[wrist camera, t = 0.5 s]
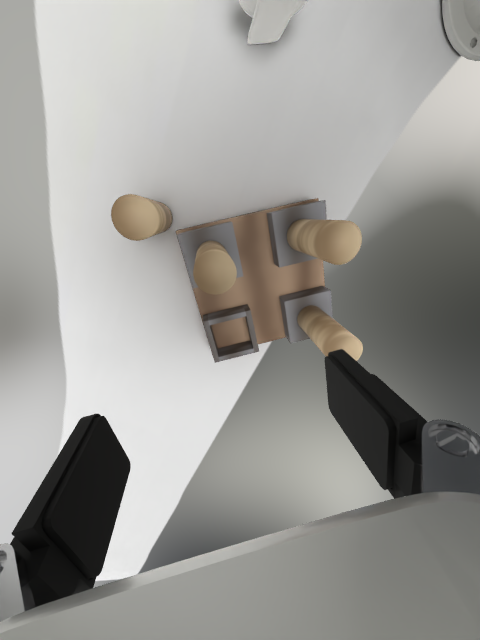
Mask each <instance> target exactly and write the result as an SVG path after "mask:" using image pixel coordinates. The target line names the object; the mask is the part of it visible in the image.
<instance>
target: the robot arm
mask: <svg viewBox="0 0 480 640" xmlns="http://www.w3.org/2000/svg"><path fill="white" fill-rule="evenodd" d="M442 15H443V21H444V28H445V31H446V34H447V37H448V39H449V41H450V43H451V44H452V46H453V48H454V49H455V50H456V51H457V52H458V53H459V54H460V55H461V56H463V57H465V58H467V59H470V60H475V61H480V0H442ZM325 369H326V380H327V392H328V404H329V409H330V411H331V413H332V415H333V416H334V418H335V419H336V421H337V422H338V424H339V425H340V427H341V428H342V429H343V431H344V433H345V434H346V436H347V437H348V439H349V440H350V442H351V443H352V444H353V446H354V447H355V449H356V450H357V452H358V453H359V455H360V456H361V458H362V459H363V461H364V462H365V464H366V465H367V467H368V468H369V470H370V471H371V473H372V474H373V476H374V477H375V479H376V480H377V482H378V483H379V484H380V486H381V487H382V488H383V489H384V490H386V489H388V490H389V492H390V493H391V494H392V496H393V497H394V499H391V500H387V501H384V502H380V503H377V504H373V505H370V506H365V507H362V508H358V509H355V510H351V511H347V512H344V513H340V514H337V515H334V516H330V517H327V518H323V519H320V520H317V521H313V522H310V523H307V524H303V525H300V526H297V527H293V528H290V529H286V530H283V531H279V532H276V533H273V534H269V535H266V536H262V537H259V538H256V539H253V540H249V541H246V542H243V543H239V544H236V545H232V546H229V547H226V548H223V549H219V550H216V551H213V552H209V553H206V554H203V555H199V556H196V557H193V558H190V559H186V560H183V561H180V562H176V563H173V564H170V565H167V566H163V567H160V568H157V569H154V570H150V571H147V572H144V573H141V574H137V575H134V576H131V577H128V578H124V579H121V580H118V581H115V582H111V583H108V584H105V585H102V586H98V587H95V588H93V586H94V583H95V579H96V576H98V575H99V574H100V573H101V571H102V568H103V564H104V561H105V557H106V554H107V550H108V547H109V543H110V540H111V536H112V532H113V529H114V525H115V522H116V518H117V515H118V511H119V508H120V504H121V500H122V497H123V493H124V490H125V486H126V483H127V479H128V475H129V472H130V461H129V459H128V457H127V455H126V453H125V452H124V450H123V448H122V446H121V444H120V443H119V441H118V439H117V437H116V436H115V434H114V432H113V430H112V428H111V427H110V425H109V423H108V421H107V420H106V418H105V417H104V416H100V415H99V414H94V415H90V416H86V417H83V418H81V419H80V420H79V422H78V424H77V425H76V427H75V429H74V430H73V432H72V434H71V435H70V437H69V439H68V440H67V442H66V444H65V445H64V447H63V449H62V450H61V452H60V454H59V455H58V457H57V459H56V460H55V462H54V464H53V466H52V467H51V469H50V470H49V472H48V474H47V475H46V477H45V479H44V480H43V482H42V484H41V485H40V487H39V489H38V490H37V492H36V494H35V495H34V497H33V499H32V500H31V502H30V504H29V505H28V507H27V509H26V510H25V512H24V514H23V515H22V517H21V519H20V520H19V522H18V524H17V525H16V527H15V529H14V530H13V532H12V535H13V536H15V537H14V538H13V540H12V542H11V544H6V543H5V544H0V640H480V436H479V435H478V434H477V433H475V432H474V431H472V430H471V429H469V428H467V427H466V426H464V425H461V424H459V423H456V422H453V421H447V420H432V421H430V422H427V421H426V420H425V419H424V418H423V417H421V415H419V414H418V413H417V412H416V411H415V410H414V409H413V408H412V407H410V406H409V405H408V404H407V403H406V402H405V401H404V400H403V399H401V398H400V397H399V396H398V395H397V394H396V393H395V392H394V391H392V390H391V389H390V388H389V387H388V386H387V385H386V384H385V383H384V382H383V381H381V380H380V379H379V378H378V377H377V376H375V375H373V374H370V373H369V372H368V371H366V370H365V369H364V368H363V367H362V366H361V365H360V364H359V363H358V362H357V361H356V360H354V359H353V358H352V357H351V356H350V355H349V354H348V353H347V352H346V351H345V350H343V349H339V350H335V351H332V352H329V353H328V356H326V357H325ZM404 496H405V497H404Z"/></svg>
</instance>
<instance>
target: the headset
mask: <svg viewBox="0 0 480 640" xmlns="http://www.w3.org/2000/svg"><path fill="white" fill-rule="evenodd" d="M307 1H308V0H239V3H240V5H241V7H242V9H243V10H244V11H245V13H246V14H248V15H249V16H250V17H252V18H253V19H252V22H251V26H250V30H249V34H248V44H264V43H271V42H276V41H278V40H279V39H280V37H281V36H282V34H283V32H284V30H285V28H286V27H287V25H288V23H289V21H290V19H291V17H292V16H293V15H295V14H296V13H298V12H299V11H300V10H301V9H302V8H303V7H304V5H305V4H306V2H307Z"/></svg>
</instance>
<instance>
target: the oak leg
mask: <svg viewBox="0 0 480 640" xmlns="http://www.w3.org/2000/svg"><path fill="white" fill-rule="evenodd" d="M111 217H112V221H113V224H114V226H115V228H116V229H117V231H118V232H119V233H120V234H121V235H123V236H124V237H126V238H128V239H130V240H136V241H139V240H144V239H146V238H149V237H151V236H154V235H156V234H159V233H161V232H164V231H166V230H168V229H169V227H170V226H171V224H172V214H171V211H170V209H169V208H168V207H167V206H166V205H165V204H163V203H160V202H157V201H154V200H150V199H147V198H144V197H141V196H137V195H132V194H128V195H124V196H121V197H120V198H118V199H117V200H116V201H115V203H114V204H113V207H112V211H111Z"/></svg>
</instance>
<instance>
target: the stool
mask: <svg viewBox="0 0 480 640" xmlns="http://www.w3.org/2000/svg"><path fill="white" fill-rule="evenodd" d="M176 234H177V237H178V241H179V244H180V247H181V251H182V254H183V258H184V261H185V264H186V268H187V271H188V274H189V278H190V281H191V284H192V288H193V291H194V294H195V298H196V301H197V304H198V308H199V311H200V315H201V318H202V321H203V325H204V328H205V331H206V335H207V338H208V341H209V345H210V348H211V351H212V355H213V358H214V361H215V362H219V361H223V360H227V359H231V358H235V357H239V356H243V355H247V354H251V353H255V352H259V348H258V344H261V343H265V342H269V341H273V340H277V339H280V338H285V337H287V339H288V340H289V342H290V343H294V342H298V341H301V340H305V339H311V340H312V341H313V342H314V343H315V344H316V345H317V346H318V348H319V349H320V350H321V351H322V352H323V354H324V355H325V356H328V353H329V352H332V351H335V350H339V349H343V350H345V351H346V352H347V353H348V354H349V355H350V356H351V357H352V358H353V359H354V360H356V361H357V360H358V359H359V358H360V356H361V354H362V351H363V346H362V343H361V341H360V340H359V339H358V338H356V337H355V336H354V335H353V334H351V333H350V332H349V331H347V330H346V329H345V328H344V327H343V326H341V325H340V324H339V323H337V322H336V321H335V320H334V319H333V317H332V301H331V290H330V289H328V288H326V287H325V284H324V283H325V282H324V269H323V261H326V262H329V263H332V264H335V265H341V264H345V263H347V262H349V261H350V260H352V259H353V258H354V257H355V256H356V254H357V253H358V251H359V249H360V247H361V242H362V235H361V232H360V229H359V228H358V226H357V225H356V224H355V223H353V222H351V221H345V220H326V204H325V200H324V201H319V200H318V198H317V199H310V200H305V201H301V202H297V203H292V204H288V205H284V206H280V207H275V208H271V209H267V210H262V211H258V212H254V213H249V214H245V215H241V216H236V217H232V218H228V219H223V220H219V221H215V222H210V223H206V224H202V225H197V226H193V227H189V228H184V229H180V230H177V231H176Z"/></svg>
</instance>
